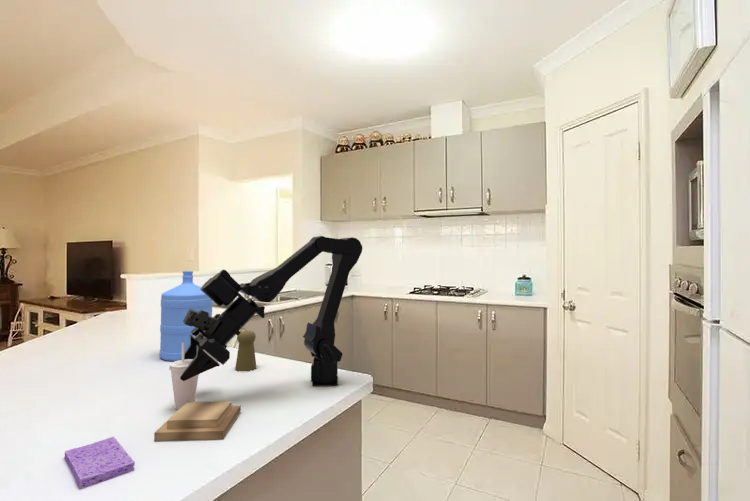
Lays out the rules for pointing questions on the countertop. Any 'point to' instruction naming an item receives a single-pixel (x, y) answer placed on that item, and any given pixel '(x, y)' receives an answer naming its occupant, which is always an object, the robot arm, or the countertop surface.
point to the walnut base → (198, 431)
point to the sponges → (98, 462)
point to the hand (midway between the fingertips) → (179, 373)
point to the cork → (246, 351)
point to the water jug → (180, 316)
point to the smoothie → (182, 382)
